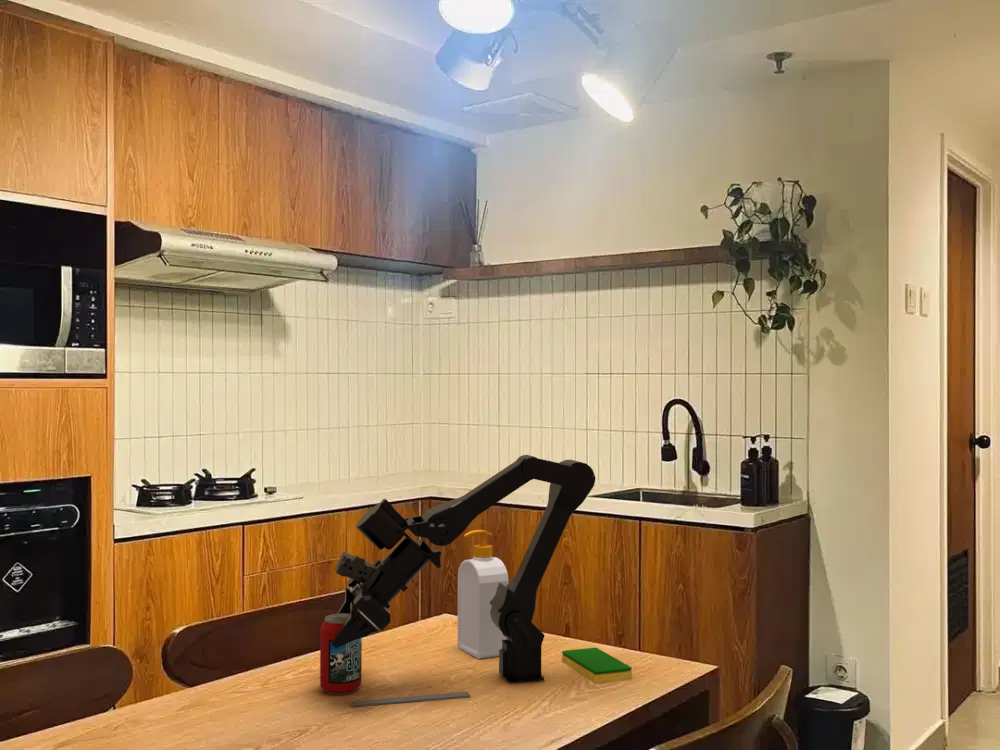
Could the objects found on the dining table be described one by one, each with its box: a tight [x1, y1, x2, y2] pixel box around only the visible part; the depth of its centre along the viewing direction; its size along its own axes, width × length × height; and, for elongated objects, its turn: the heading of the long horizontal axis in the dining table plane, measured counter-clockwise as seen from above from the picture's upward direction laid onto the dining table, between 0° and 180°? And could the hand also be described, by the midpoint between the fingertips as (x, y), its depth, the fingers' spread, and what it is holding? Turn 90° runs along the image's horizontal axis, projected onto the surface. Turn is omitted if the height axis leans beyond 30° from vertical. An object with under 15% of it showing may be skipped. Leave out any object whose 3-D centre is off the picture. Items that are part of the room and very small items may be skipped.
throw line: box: [350, 691, 471, 708], centre depth 154 cm, size 19×2×1 cm, turn 105°
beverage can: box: [319, 613, 363, 696], centre depth 159 cm, size 7×7×12 cm
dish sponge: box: [561, 646, 633, 684], centre depth 171 cm, size 7×14×2 cm, turn 21°
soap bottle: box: [457, 529, 509, 660], centre depth 182 cm, size 9×7×23 cm
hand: (331, 638), depth 159 cm, fingers open, 9 cm apart
